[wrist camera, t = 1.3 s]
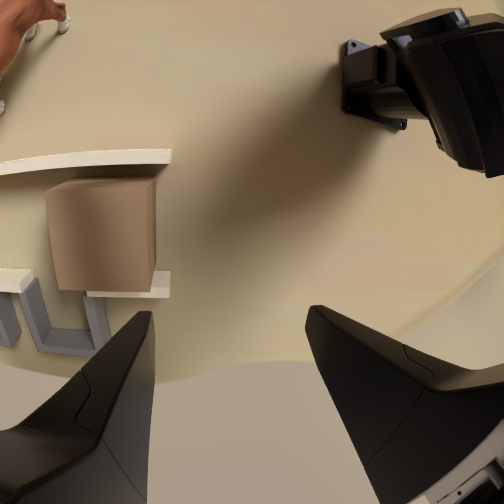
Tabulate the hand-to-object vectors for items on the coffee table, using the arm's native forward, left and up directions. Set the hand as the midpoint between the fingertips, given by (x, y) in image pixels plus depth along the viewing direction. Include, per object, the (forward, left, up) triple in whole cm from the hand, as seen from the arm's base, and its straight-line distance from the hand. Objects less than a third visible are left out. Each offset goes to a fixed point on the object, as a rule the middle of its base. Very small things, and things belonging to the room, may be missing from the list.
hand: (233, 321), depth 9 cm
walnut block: (+7, 0, -12) cm, 14 cm away
